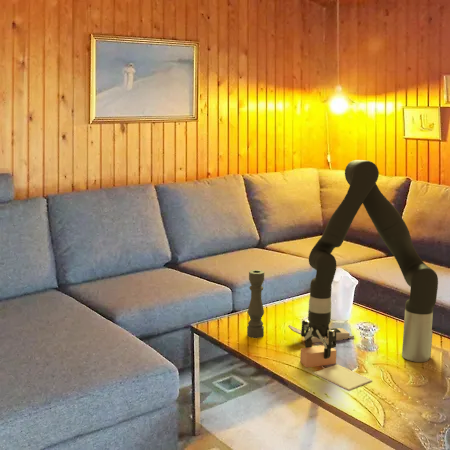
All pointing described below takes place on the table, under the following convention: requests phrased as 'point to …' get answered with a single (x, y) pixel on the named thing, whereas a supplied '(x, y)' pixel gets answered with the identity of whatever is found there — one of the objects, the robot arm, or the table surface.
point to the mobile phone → (340, 335)
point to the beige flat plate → (342, 377)
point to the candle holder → (255, 305)
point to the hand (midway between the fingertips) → (317, 354)
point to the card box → (316, 356)
